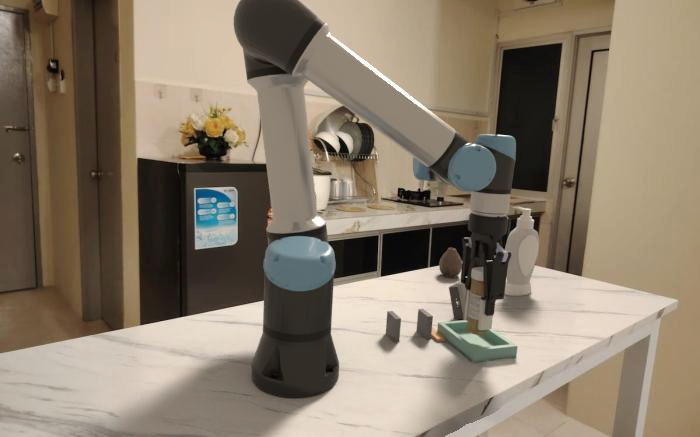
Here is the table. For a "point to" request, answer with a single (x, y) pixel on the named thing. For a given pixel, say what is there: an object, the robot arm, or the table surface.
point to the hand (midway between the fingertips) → (477, 323)
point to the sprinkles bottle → (475, 301)
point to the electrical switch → (458, 299)
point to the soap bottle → (521, 255)
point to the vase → (450, 263)
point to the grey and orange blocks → (422, 326)
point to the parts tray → (477, 342)
